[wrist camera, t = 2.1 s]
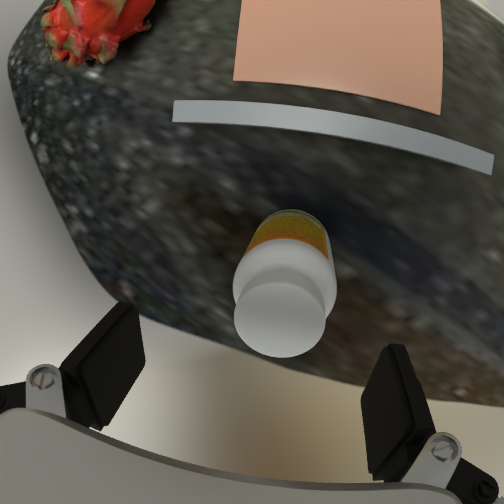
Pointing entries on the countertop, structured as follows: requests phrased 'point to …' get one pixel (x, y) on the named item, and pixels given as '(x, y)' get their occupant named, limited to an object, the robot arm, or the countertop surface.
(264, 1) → the tile
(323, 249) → the supplement bottle
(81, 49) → the dragon fruit
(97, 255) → the countertop surface
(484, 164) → the low wall
